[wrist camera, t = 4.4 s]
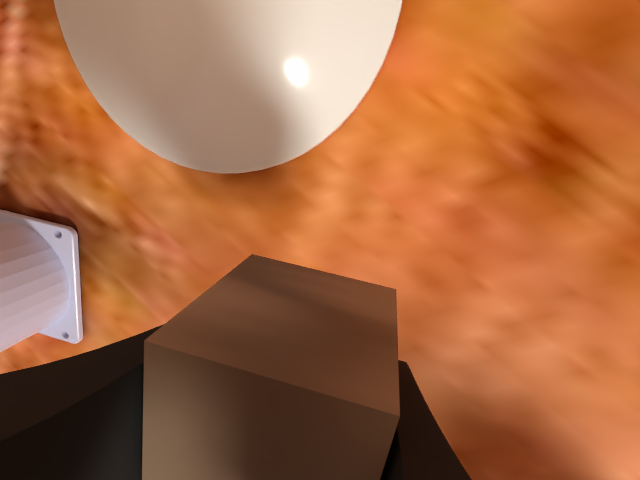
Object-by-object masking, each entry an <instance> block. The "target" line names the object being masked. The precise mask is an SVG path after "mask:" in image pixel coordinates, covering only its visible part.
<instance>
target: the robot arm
mask: <svg viewBox="0 0 640 480" xmlns="http://www.w3.org/2000/svg"><path fill="white" fill-rule="evenodd" d="M60 232H61V233H60ZM61 234H62V235H61ZM162 326H163V325H161V326H159V327H156V328H154V329H151V330H149V331H146V332H143V333H141V334H138V335H135V336H133V337H130V338H127V339H124V340H121V341H118V342H116V343H113V344H110V345H107V346H104V347H102V348H99V349H95V350H92V351H89V352H86V353H83V354H79V355H76V356H73V357H69V358H65V359H62V360H58V361H55V362H51V363H47V364H43V365H39V366H35V367H31V368H26V369H22V370H17V371H13V372H8V373H4V374H0V480H142V447H143V383H144V340H146V339H147V338H148V337H149V336H151V335H152V334H153V333H154V332H156V331H157V330H158V329H159V328H161V327H162ZM37 332H38V333H41V334H44V335H47V336H51V337H54V338H57V339H61V340H64V341H67V342H70V343H75V344H76V343H78V342H79V341H81V340H82V339H83V325H82V307H81V288H80V270H79V251H78V235H77V232H76V231H75V230H74V229H73V228H72V227H69V226H65V225H61V224H57V223H53V222H49V221H45V220H41V219H37V218H33V217H29V216H25V215H21V214H17V213H13V212H9V211H5V210H1V209H0V352H2V351H4V350H5V349H7V348H9V347H11V346H13V345H15V344H17V343H18V342H20V341H22V340H24V339H26V338H28V337H30V336H31V335H33V334H35V333H37ZM398 370H399V403H400V418H399V421H398V424H397V427H396V430H395V434H394V437H393V440H392V443H391V446H390V450H389V453H388V456H387V459H386V462H385V466H384V469H383V472H382V475H381V478H380V480H471V478H470V477H469V475H468V474H467V472H466V471H465V469H464V468H463V466H462V464H461V463H460V461H459V460H458V458H457V456H456V455H455V453H454V451H453V450H452V448H451V447H450V445H449V443H448V442H447V440H446V438H445V436H444V435H443V433H442V431H441V429H440V428H439V426H438V424H437V422H436V420H435V418H434V417H433V415H432V413H431V411H430V409H429V407H428V405H427V403H426V402H425V400H424V398H423V395H422V393H421V391H420V389H419V387H418V385H417V383H416V381H415V379H414V377H413V375H412V372H411V370H410V368H409V366H408V364H407V363H406V362H403V361H400V360H398Z"/></svg>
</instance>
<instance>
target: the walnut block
mask: <svg viewBox="0 0 640 480" xmlns="http://www.w3.org/2000/svg"><path fill="white" fill-rule="evenodd" d="M399 418H400V403H399V370H398V336H397V303H396V289H393V288H389V287H384V286H380V285H376V284H372V283H368V282H364V281H360V280H356V279H352V278H347V277H343V276H339V275H335V274H331V273H327V272H323V271H319V270H315V269H311V268H306V267H302V266H298V265H294V264H290V263H286V262H282V261H278V260H274V259H270V258H265V257H261V256H257V255H253V254H252V255H251V256H249V257H248V258H247V259H246V260H244V261H243V262H242V263H241V264H239V265H238V266H237V267H236V268H234V269H233V270H232V271H231V272H229V273H228V274H227V275H226V276H224V277H223V278H222V279H221V280H219V281H218V282H217V283H216V284H214V285H213V286H212V287H211V288H209V289H208V290H207V291H206V292H204V293H203V294H202V295H201V296H199V297H198V298H197V299H196V300H194V301H193V302H192V303H191V304H189V305H188V306H187V307H186V308H184V309H183V310H182V311H181V312H179V313H178V314H177V315H176V316H174V317H173V318H172V319H171V320H169V321H168V322H167V323H166V324H164V325H163V326H162V327H161V328H159V329H158V330H157V331H156V332H154V333H153V334H152V335H151V336H149V337H148V338H147V339H146V340H144V383H143V447H142V480H380V478H381V475H382V472H383V469H384V466H385V462H386V459H387V456H388V453H389V450H390V446H391V443H392V440H393V437H394V434H395V430H396V427H397V424H398V421H399Z"/></svg>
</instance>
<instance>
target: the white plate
mask: <svg viewBox="0 0 640 480" xmlns="http://www.w3.org/2000/svg"><path fill="white" fill-rule="evenodd" d="M54 4H55V9H56V14H57V17H58V20H59V24H60V27H61V30H62V33H63V37H64V39H65V42H66V44H67V47H68V49H69V52H70V54H71V56H72V59H73V61H74V63H75V65H76V67H77V69H78V71H79V73H80V75H81V76H82V78H83V80H84V82H85V84H86V85H87V87H88V88H89V90H90V91H91V93H92V94H93V96H94V97H95V99H96V100H97V102H98V103H99V104H100V105H101V107H102V108H103V109H104V110H105V111H106V113H107V114H108V115H109V116H110V117H111V119H112V120H113V121H114V122H115V123H116V124H117V125H118V126H119V127H121V128H122V129H123V130H124V131H125V132H126V133H127V134H128V135H129V136H130V137H132V138H133V139H134V140H136V141H137V142H138V143H139V144H141V145H142V146H143V147H145V148H147V149H148V150H150V151H152V152H153V153H155V154H157V155H158V156H160V157H162V158H164V159H166V160H169V161H171V162H173V163H176V164H178V165H180V166H184V167H188V168H191V169H195V170H198V171H204V172H212V173H245V172H251V171H258V170H263V169H267V168H271V167H274V166H277V165H281V164H284V163H287V162H289V161H291V160H293V159H295V158H297V157H300V156H302V155H304V154H306V153H307V152H309V151H310V150H312V149H313V148H315V147H316V146H318V145H320V144H321V143H323V142H324V141H325V140H326V139H327V138H328V137H330V136H331V135H332V134H333V133H334V132H336V131H337V130H338V129H339V128H340V127H341V126H342V125H343V124H344V123H345V122H346V120H347V119H348V118H349V117H350V116H351V115H352V114H353V113H354V112H355V111H356V109H357V108H358V106H359V105H360V104H361V102H362V101H363V99H364V98H365V96H366V95H367V94H368V92H369V91H370V89H371V87H372V86H373V84H374V82H375V80H376V78H377V76H378V74H379V73H380V71H381V69H382V67H383V65H384V62H385V60H386V57H387V55H388V52H389V50H390V47H391V44H392V42H393V39H394V35H395V32H396V28H397V24H398V20H399V17H400V13H401V7H402V0H54Z"/></svg>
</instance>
